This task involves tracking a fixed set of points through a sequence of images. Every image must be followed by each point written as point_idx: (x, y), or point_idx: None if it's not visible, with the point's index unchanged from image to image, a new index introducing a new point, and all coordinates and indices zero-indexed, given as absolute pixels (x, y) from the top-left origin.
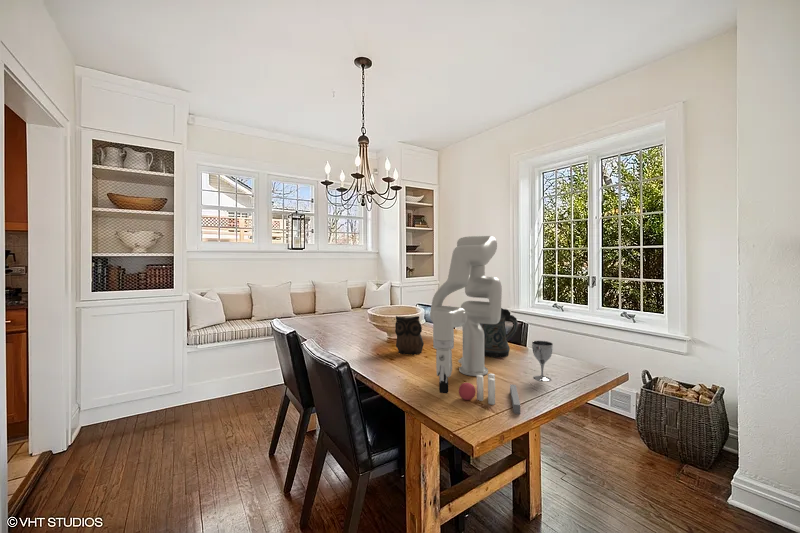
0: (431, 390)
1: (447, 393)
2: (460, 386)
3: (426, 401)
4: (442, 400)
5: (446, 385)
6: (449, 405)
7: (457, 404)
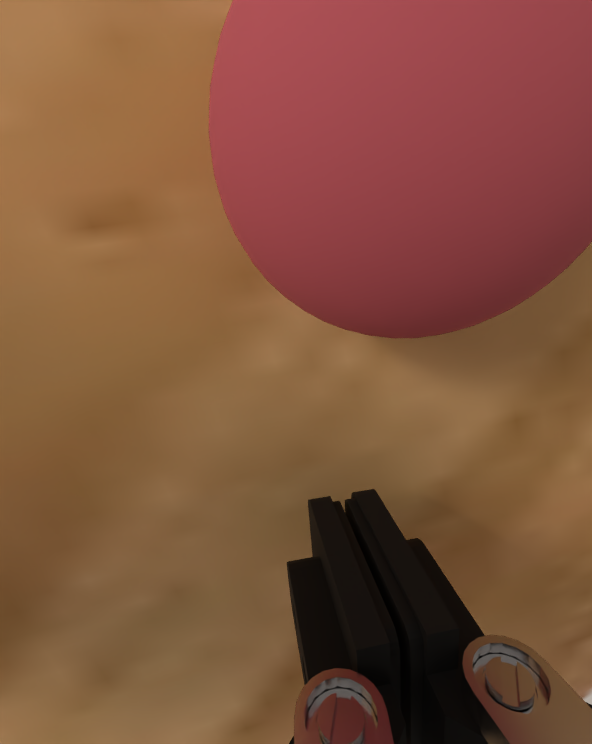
0: (194, 680)
1: (373, 490)
2: (509, 302)
3: (503, 621)
4: (451, 490)
5: (428, 602)
6: (572, 383)
7: (536, 294)
